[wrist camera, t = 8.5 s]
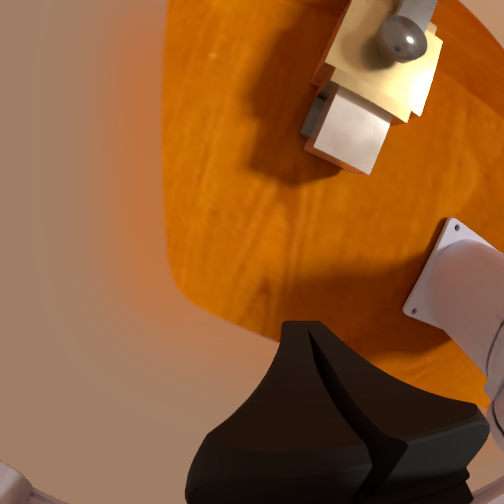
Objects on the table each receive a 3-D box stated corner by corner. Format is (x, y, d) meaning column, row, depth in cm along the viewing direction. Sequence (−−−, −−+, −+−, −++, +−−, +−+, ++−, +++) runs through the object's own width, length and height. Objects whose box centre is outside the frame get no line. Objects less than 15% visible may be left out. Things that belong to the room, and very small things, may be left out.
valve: (421, 21, 14) (456, -3, 9) (363, 180, 18) (397, 187, 13) (354, -17, 14) (376, -52, 9) (283, 142, 17) (294, 134, 12)
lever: (403, 75, 12) (426, 64, 9) (364, 49, 11) (382, 32, 9) (440, -12, 10) (459, -26, 7) (408, -34, 9) (424, -52, 7)
